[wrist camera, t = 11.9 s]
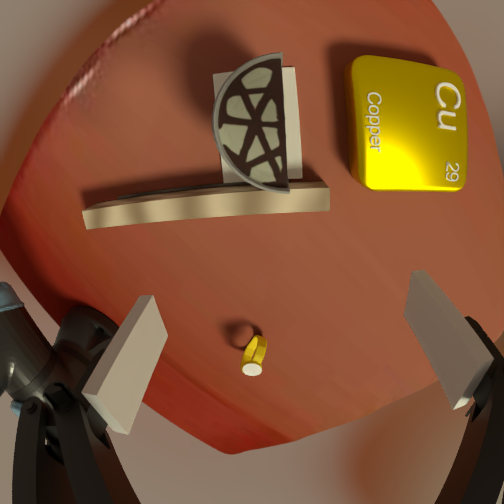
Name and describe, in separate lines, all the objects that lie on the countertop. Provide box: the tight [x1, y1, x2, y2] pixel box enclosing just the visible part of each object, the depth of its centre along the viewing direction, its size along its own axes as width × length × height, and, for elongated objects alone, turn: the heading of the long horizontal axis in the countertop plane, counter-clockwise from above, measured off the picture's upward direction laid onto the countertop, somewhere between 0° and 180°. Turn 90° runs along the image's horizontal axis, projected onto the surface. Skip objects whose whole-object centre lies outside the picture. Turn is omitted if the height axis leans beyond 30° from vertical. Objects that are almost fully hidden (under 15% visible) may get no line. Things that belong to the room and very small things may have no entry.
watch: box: [240, 335, 267, 376], centre depth 39 cm, size 6×3×6 cm, turn 153°
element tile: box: [343, 55, 468, 192], centre depth 25 cm, size 15×15×5 cm
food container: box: [212, 52, 290, 194], centre depth 24 cm, size 12×6×10 cm, turn 4°
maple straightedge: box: [82, 179, 330, 229], centre depth 31 cm, size 30×3×4 cm, turn 95°
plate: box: [213, 67, 303, 183], centre depth 29 cm, size 9×13×1 cm
